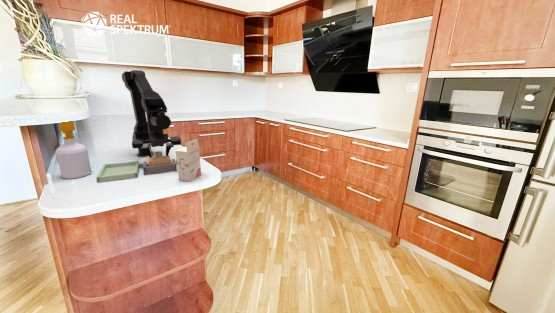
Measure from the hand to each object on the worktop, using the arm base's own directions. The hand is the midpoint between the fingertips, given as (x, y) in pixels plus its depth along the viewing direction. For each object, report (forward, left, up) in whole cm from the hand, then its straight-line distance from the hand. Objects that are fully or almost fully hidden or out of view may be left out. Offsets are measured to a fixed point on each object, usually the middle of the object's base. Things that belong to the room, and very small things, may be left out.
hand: (159, 160), depth 108 cm
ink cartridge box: (+21, +10, -2) cm, 23 cm away
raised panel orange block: (+4, 0, -2) cm, 5 cm away
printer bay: (+8, 0, -2) cm, 8 cm away
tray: (+6, -14, -2) cm, 16 cm away
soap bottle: (+2, -29, -2) cm, 29 cm away
